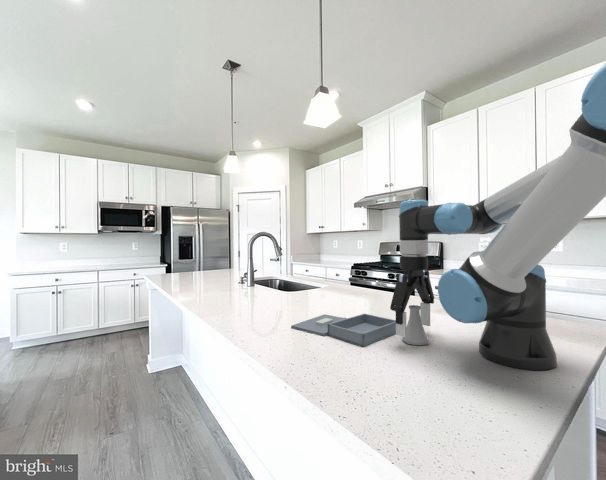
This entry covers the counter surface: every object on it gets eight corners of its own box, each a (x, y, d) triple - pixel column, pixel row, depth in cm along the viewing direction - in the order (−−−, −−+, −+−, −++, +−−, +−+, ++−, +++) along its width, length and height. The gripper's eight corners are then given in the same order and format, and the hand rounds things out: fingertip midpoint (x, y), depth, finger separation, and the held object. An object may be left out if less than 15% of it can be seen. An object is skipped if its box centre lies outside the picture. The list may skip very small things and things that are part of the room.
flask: (424, 337, 86) (423, 303, 86) (432, 346, 79) (432, 309, 79) (399, 337, 87) (398, 303, 87) (405, 346, 80) (404, 309, 80)
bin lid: (355, 322, 103) (355, 317, 103) (324, 336, 89) (324, 331, 89) (324, 316, 112) (324, 312, 112) (291, 328, 98) (291, 323, 98)
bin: (399, 332, 91) (399, 321, 91) (363, 347, 79) (362, 334, 79) (364, 323, 101) (364, 313, 101) (327, 335, 89) (327, 324, 89)
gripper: (422, 252, 94) (422, 318, 95) (376, 257, 78) (376, 337, 78) (446, 253, 89) (446, 323, 89) (402, 258, 72) (402, 344, 73)
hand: (413, 330), depth 84 cm, fingers open, 13 cm apart
